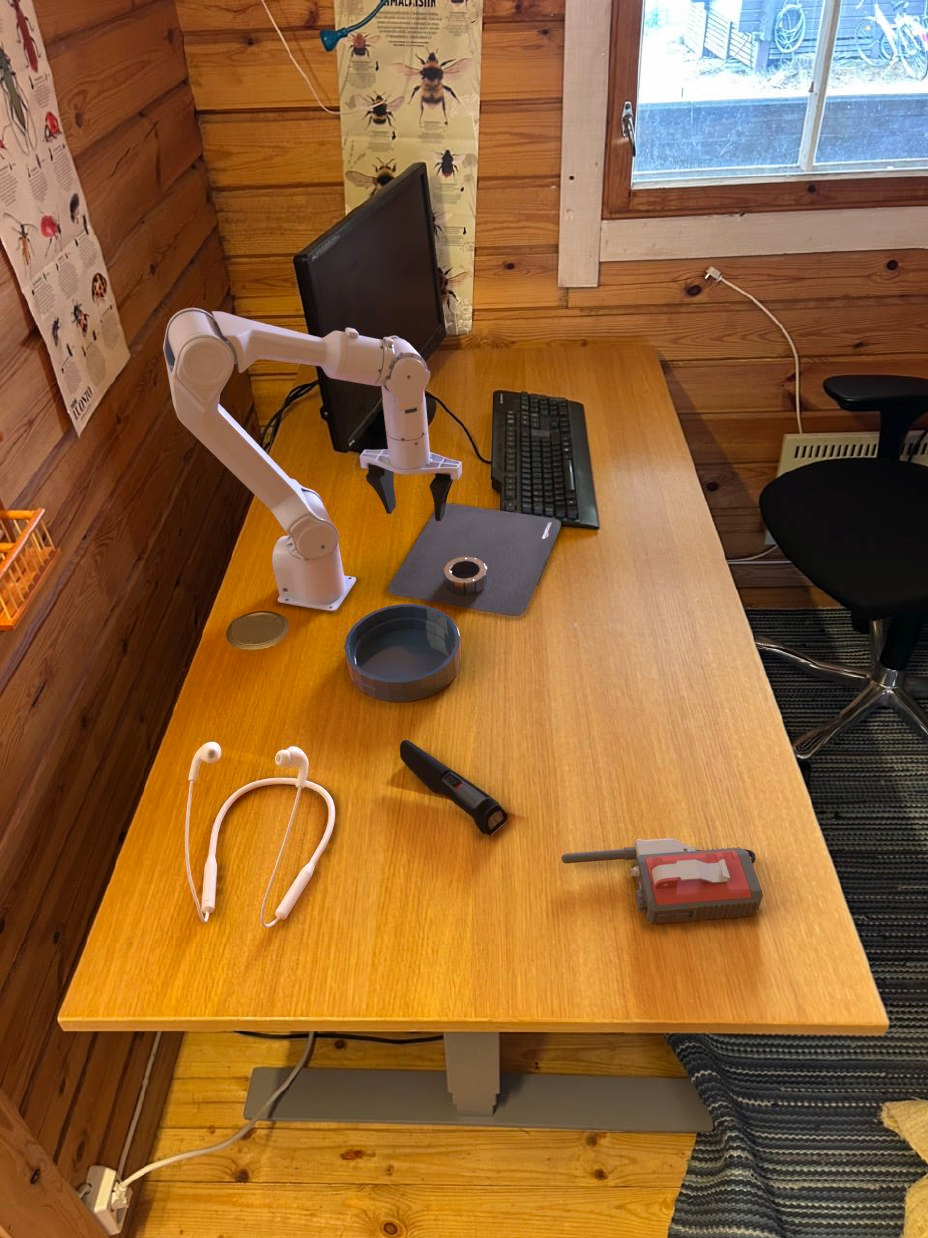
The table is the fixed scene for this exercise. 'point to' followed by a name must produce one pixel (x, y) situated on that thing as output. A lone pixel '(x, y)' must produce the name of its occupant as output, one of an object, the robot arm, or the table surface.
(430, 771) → the electric trimmer
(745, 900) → the walkie-talkie
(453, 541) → the mouse pad
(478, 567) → the steel ring
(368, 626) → the bowl
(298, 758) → the earphone
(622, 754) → the table surface
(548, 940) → the table surface
